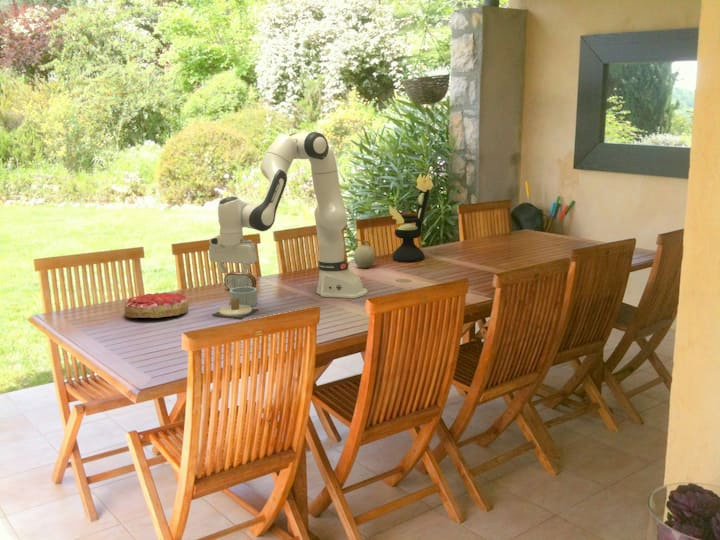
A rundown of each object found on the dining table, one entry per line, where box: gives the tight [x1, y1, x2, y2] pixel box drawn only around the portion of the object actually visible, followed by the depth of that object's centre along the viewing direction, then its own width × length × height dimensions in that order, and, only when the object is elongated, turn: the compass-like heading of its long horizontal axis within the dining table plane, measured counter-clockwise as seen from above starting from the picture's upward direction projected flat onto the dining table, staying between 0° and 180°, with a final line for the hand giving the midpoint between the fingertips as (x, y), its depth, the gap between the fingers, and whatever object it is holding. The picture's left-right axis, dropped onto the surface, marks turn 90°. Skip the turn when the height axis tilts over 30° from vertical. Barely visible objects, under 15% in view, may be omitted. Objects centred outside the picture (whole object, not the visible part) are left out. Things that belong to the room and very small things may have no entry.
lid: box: [218, 298, 253, 316], centre depth 309 cm, size 13×13×5 cm
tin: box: [223, 271, 257, 291], centre depth 346 cm, size 15×3×8 cm, turn 71°
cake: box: [124, 292, 190, 320], centre depth 311 cm, size 25×25×8 cm
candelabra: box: [388, 172, 434, 263], centre depth 402 cm, size 19×22×45 cm
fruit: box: [351, 238, 376, 269], centre depth 388 cm, size 10×12×15 cm
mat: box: [212, 308, 259, 320], centre depth 310 cm, size 13×13×1 cm
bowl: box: [229, 287, 258, 307], centre depth 323 cm, size 11×11×6 cm
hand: (234, 273), depth 306 cm, fingers open, 8 cm apart
